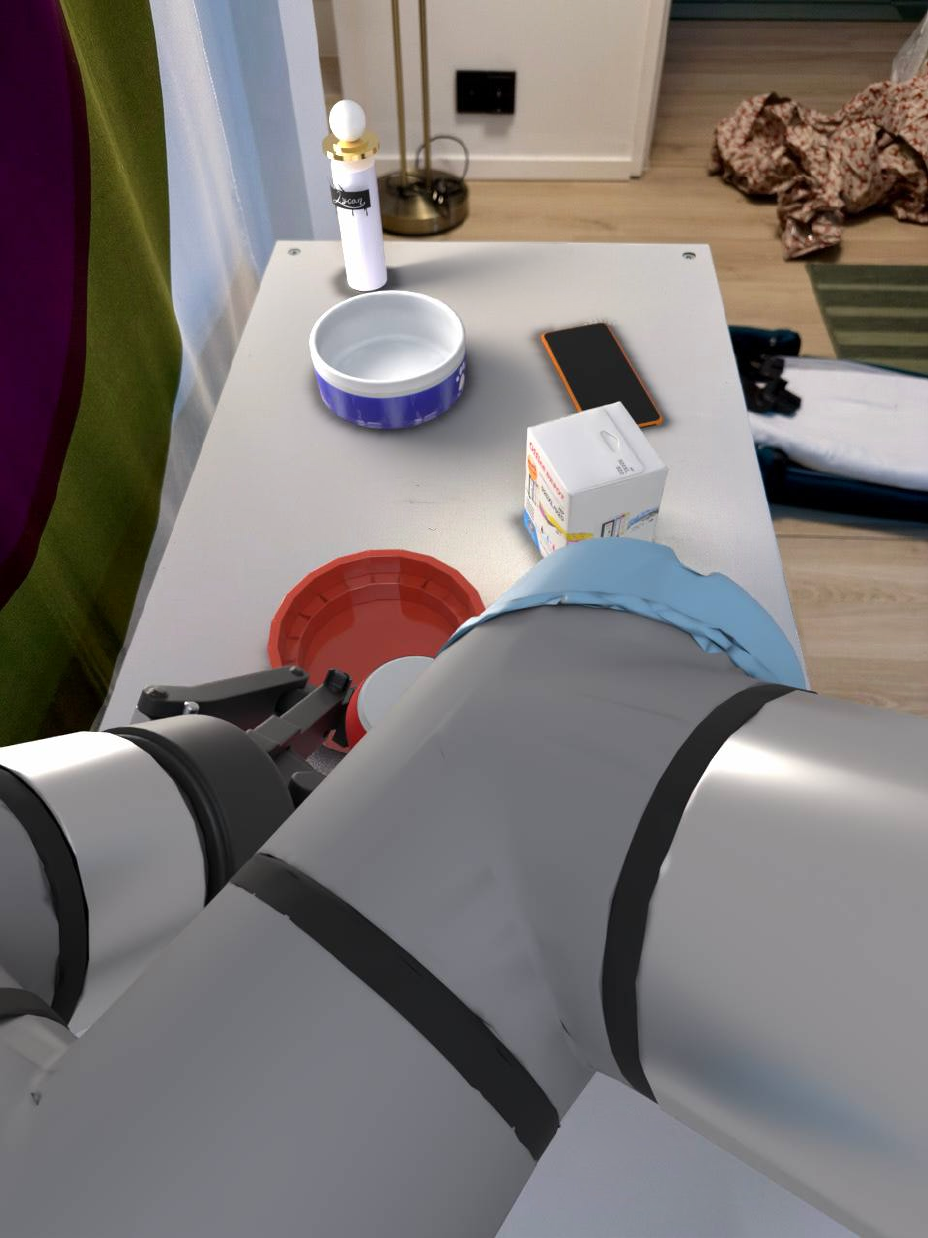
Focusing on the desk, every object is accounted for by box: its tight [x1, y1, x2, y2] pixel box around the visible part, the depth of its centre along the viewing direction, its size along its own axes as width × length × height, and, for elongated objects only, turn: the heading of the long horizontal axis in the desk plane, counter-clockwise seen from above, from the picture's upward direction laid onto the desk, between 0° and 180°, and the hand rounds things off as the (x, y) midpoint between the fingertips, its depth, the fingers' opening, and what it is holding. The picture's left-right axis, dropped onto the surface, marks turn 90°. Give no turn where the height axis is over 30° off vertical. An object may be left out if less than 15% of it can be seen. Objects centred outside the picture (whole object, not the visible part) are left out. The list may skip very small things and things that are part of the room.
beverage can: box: [345, 655, 434, 751], centre depth 43 cm, size 6×6×12 cm
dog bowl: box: [309, 290, 467, 430], centre depth 90 cm, size 15×15×6 cm
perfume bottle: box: [321, 99, 388, 292], centre depth 95 cm, size 6×6×20 cm
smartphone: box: [540, 321, 664, 429], centre depth 91 cm, size 8×17×1 cm, turn 14°
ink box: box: [523, 402, 669, 559], centre depth 74 cm, size 9×8×12 cm
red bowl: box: [266, 548, 487, 755], centre depth 69 cm, size 17×17×5 cm
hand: (467, 735), depth 46 cm, fingers closed on beverage can, 6 cm apart
